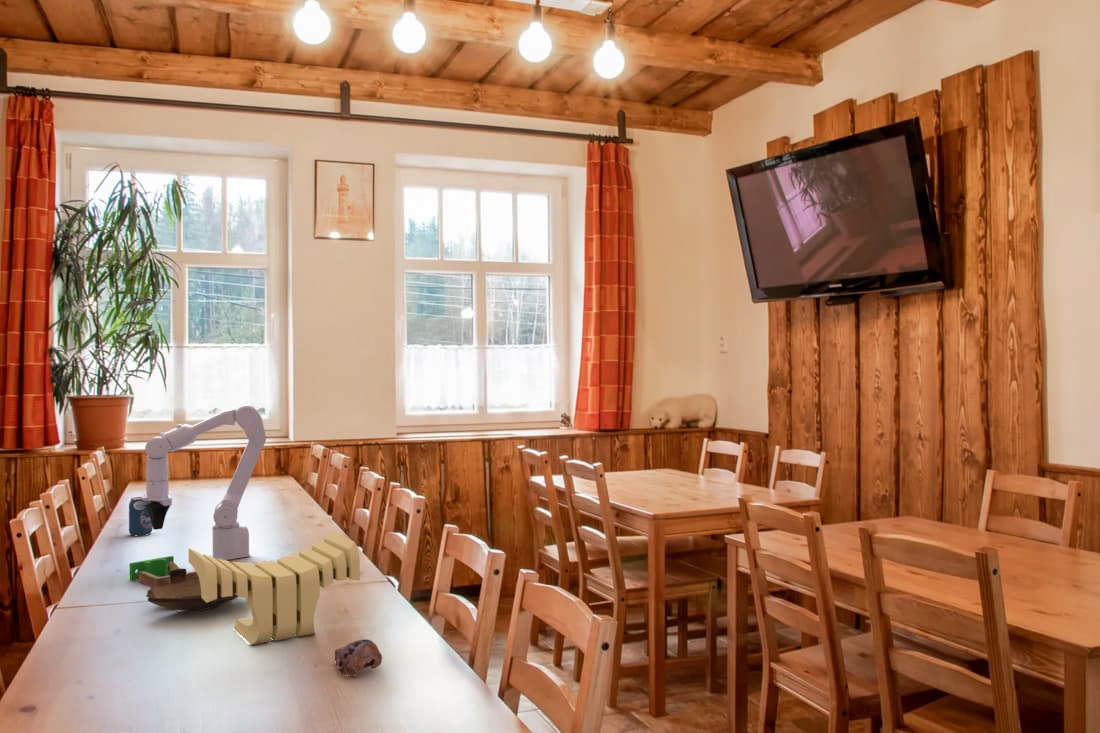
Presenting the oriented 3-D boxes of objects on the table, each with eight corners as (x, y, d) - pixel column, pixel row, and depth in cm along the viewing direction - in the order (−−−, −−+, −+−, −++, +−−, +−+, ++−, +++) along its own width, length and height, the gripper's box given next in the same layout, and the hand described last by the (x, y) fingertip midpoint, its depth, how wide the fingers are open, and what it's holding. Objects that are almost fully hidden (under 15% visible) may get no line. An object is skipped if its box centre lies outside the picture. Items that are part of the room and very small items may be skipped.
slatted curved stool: (206, 657, 165) (206, 562, 165) (189, 636, 178) (188, 548, 178) (360, 630, 181) (359, 543, 181) (333, 612, 194) (332, 532, 194)
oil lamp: (142, 628, 184) (142, 592, 184) (149, 594, 212) (149, 562, 212) (255, 617, 192) (255, 581, 192) (247, 585, 220) (247, 554, 220)
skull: (324, 664, 161) (324, 631, 161) (365, 657, 165) (365, 624, 165) (346, 684, 150) (345, 649, 150) (388, 676, 154) (388, 641, 154)
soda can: (146, 536, 285) (146, 499, 285) (124, 536, 285) (124, 499, 285) (156, 532, 292) (156, 496, 292) (135, 532, 292) (135, 496, 292)
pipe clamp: (136, 583, 224) (136, 565, 224) (129, 581, 226) (129, 563, 226) (178, 574, 232) (178, 557, 232) (171, 572, 235) (171, 555, 235)
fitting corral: (209, 569, 237) (209, 560, 237) (228, 576, 230) (228, 566, 230) (139, 581, 224) (138, 571, 224) (156, 589, 216) (156, 578, 216)
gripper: (132, 479, 248) (132, 527, 248) (153, 483, 238) (153, 534, 238) (158, 477, 254) (158, 524, 253) (179, 481, 243) (179, 530, 243)
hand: (157, 528), depth 246 cm, fingers closed
